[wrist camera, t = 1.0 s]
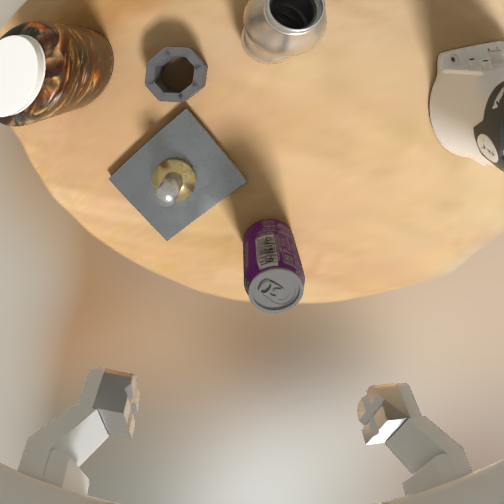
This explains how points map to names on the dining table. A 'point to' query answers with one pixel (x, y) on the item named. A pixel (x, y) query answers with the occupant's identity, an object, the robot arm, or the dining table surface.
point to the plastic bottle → (282, 28)
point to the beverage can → (272, 267)
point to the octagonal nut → (156, 72)
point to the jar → (50, 70)
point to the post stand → (177, 175)
